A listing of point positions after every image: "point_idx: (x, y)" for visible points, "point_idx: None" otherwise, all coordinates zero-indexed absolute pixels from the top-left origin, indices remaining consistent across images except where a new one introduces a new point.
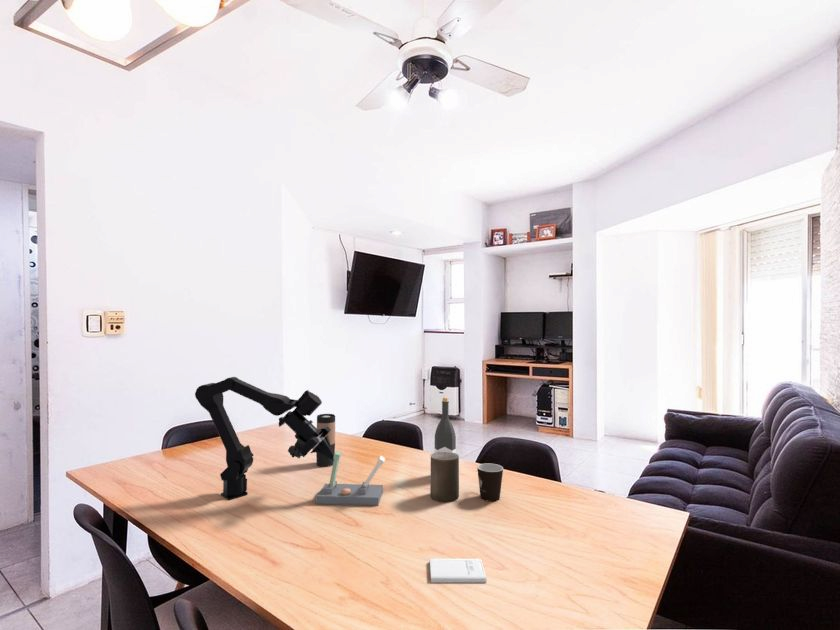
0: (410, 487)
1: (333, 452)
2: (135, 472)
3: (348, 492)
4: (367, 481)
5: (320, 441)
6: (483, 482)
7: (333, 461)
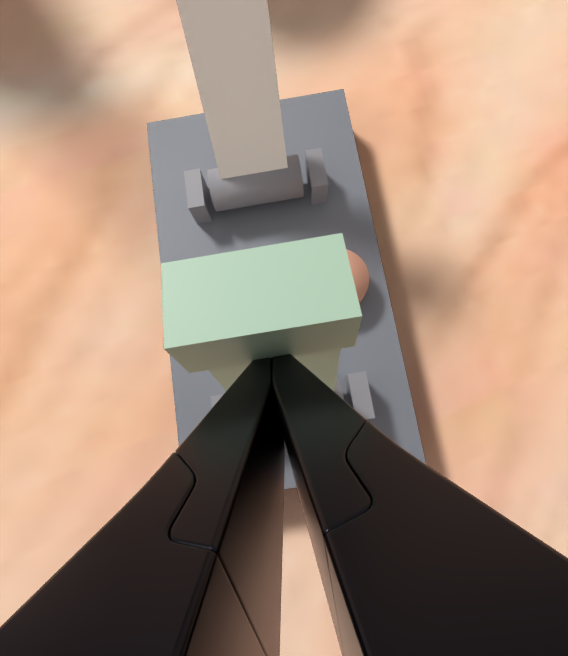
0: (73, 42)
1: (234, 385)
2: None
3: (353, 256)
4: (280, 121)
5: None
6: None
7: None
